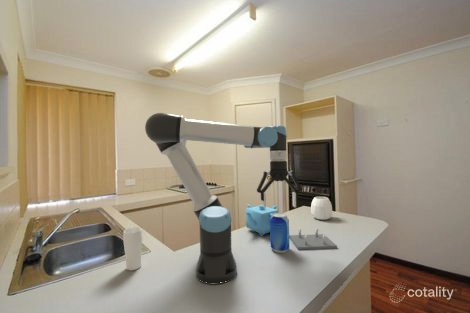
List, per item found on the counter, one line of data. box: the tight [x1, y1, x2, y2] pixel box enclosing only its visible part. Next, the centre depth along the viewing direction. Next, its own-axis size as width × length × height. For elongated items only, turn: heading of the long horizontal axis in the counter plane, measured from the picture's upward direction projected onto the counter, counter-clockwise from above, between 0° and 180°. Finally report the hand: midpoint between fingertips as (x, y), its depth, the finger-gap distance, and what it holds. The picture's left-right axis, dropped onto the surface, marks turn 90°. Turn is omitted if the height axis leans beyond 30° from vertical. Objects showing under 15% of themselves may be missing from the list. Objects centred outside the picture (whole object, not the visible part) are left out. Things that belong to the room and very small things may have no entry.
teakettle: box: [243, 203, 279, 237], centre depth 122 cm, size 19×19×15 cm
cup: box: [310, 196, 333, 221], centre depth 143 cm, size 13×13×14 cm
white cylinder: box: [122, 226, 143, 271], centre depth 86 cm, size 7×7×15 cm
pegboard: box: [289, 228, 338, 251], centre depth 106 cm, size 18×14×5 cm
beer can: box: [269, 212, 290, 254], centre depth 99 cm, size 8×8×16 cm
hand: (279, 207), depth 99 cm, fingers open, 13 cm apart
